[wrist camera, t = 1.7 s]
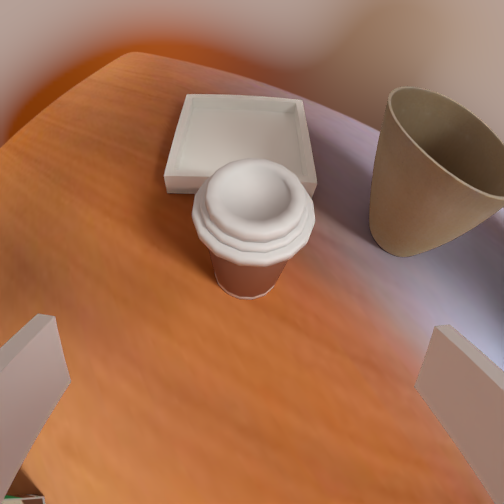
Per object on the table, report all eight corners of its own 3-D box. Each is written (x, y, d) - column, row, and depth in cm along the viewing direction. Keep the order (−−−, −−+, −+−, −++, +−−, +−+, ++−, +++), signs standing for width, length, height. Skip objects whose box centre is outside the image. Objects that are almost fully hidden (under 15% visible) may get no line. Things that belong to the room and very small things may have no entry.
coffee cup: (185, 255, 32) (168, 174, 22) (259, 218, 35) (272, 134, 25) (231, 330, 29) (233, 274, 18) (309, 283, 32) (347, 212, 21)
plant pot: (461, 270, 34) (540, 193, 20) (369, 301, 31) (456, 208, 17) (411, 179, 41) (460, 93, 27) (320, 189, 38) (358, 78, 24)
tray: (298, 115, 46) (302, 100, 43) (311, 199, 37) (317, 183, 35) (188, 109, 45) (186, 94, 42) (167, 193, 36) (163, 175, 34)
